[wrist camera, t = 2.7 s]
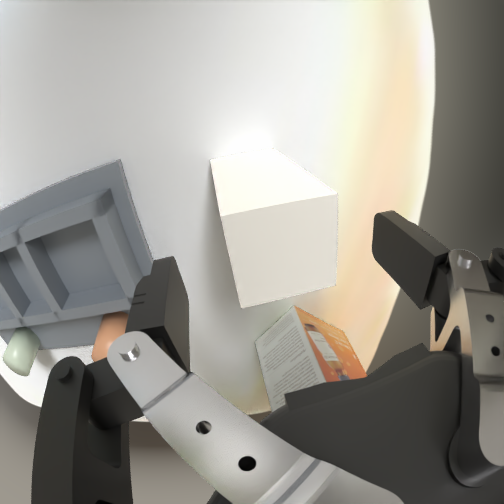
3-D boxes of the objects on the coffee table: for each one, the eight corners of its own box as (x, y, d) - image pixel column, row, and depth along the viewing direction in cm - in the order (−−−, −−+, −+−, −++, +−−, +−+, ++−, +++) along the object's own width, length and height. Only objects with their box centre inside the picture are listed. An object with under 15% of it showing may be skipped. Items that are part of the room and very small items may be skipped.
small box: (343, 330, 27) (387, 411, 18) (306, 361, 29) (338, 442, 20) (293, 302, 24) (338, 406, 15) (252, 341, 25) (278, 442, 16)
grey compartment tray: (-51, 241, 13) (-75, 266, 9) (120, 159, 15) (95, 178, 11) (14, 347, 21) (2, 377, 17) (180, 326, 23) (181, 369, 19)
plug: (209, 159, 16) (220, 216, 9) (272, 148, 17) (337, 193, 9) (221, 217, 18) (241, 308, 11) (279, 205, 19) (335, 285, 11)
